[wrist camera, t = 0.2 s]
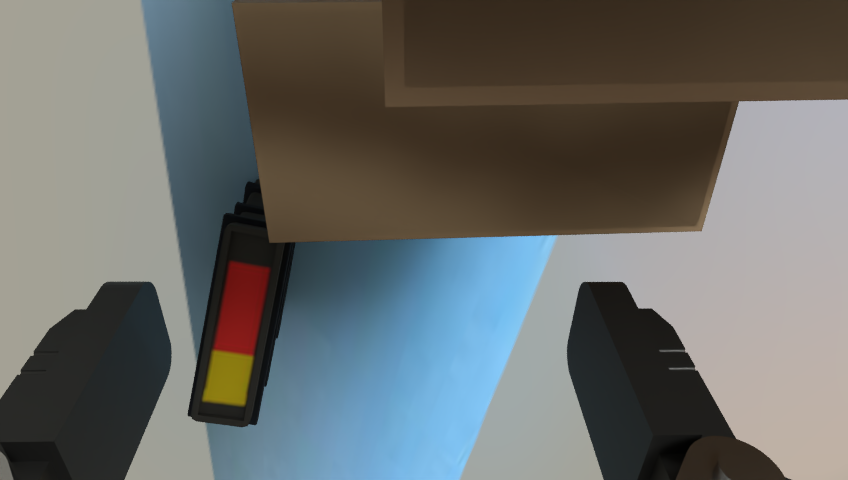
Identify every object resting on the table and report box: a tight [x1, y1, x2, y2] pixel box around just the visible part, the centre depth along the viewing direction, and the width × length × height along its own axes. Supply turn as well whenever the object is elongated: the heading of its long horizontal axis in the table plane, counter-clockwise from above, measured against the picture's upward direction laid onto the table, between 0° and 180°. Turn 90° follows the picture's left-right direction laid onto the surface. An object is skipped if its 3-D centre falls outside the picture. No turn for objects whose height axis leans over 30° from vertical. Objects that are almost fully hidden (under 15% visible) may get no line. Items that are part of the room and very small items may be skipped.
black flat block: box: [188, 179, 296, 427], centre depth 39 cm, size 4×13×15 cm, turn 165°
